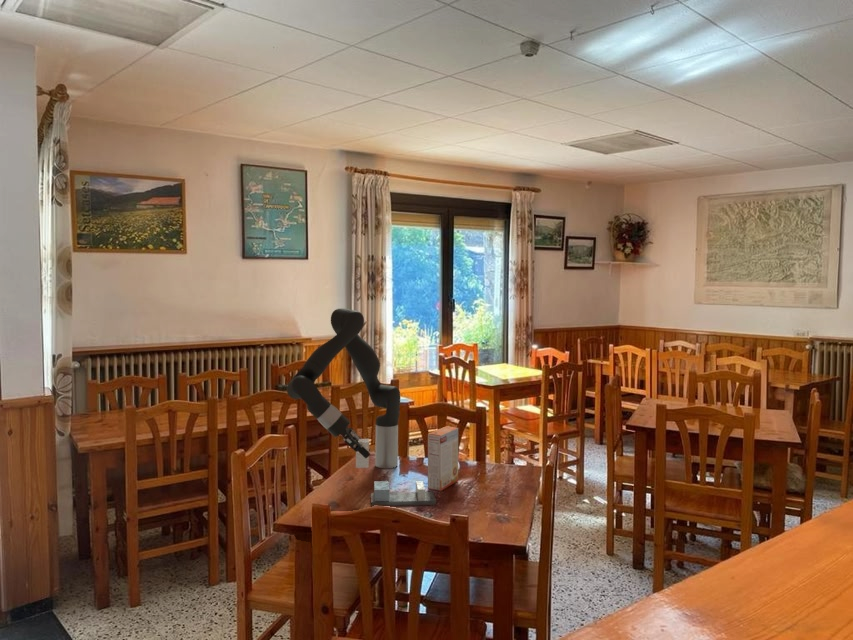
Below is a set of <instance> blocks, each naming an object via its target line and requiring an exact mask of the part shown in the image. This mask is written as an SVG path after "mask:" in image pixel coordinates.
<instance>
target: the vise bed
mask: <svg viewBox="0 0 853 640" xmlns="http://www.w3.org/2000/svg"><path fill="white" fill-rule="evenodd" d="M370 501H371V502H370V503H372V505H371V507H375V506H374V505H388V506H387V507H396V506H397V507H401V506H403V505H404V506H405V507H406V506H408V505H410V506H435V505H437V498H436V496H435V493H434V491H426V487H425V485H424V481H423V480H416V481H415V491H412V492H411V491H408V492H407V491H406V492H404V491H402V492H389V501H375V500H374V492H371V493H370ZM404 506H403V507H404Z"/></svg>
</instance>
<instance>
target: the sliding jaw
mask: <svg viewBox="0 0 853 640" xmlns="http://www.w3.org/2000/svg"><path fill="white" fill-rule="evenodd" d="M389 483H390V482H389V481H388V480H381V481H380V480H376V481H373V493H374V500H375V501H389V493H390V486H389V485H390V484H389Z"/></svg>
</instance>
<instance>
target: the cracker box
mask: <svg viewBox="0 0 853 640" xmlns="http://www.w3.org/2000/svg"><path fill="white" fill-rule="evenodd" d="M458 481H459V427H455V426H454V427H453V426H448V425H446V426H444V427H441V428H439V429H436V430H434V431H431V432H428V433H427V489H429V490H433V491H438V492H442V491H443V490H445V489H447V488H448V487H450V486H451V485H453V484H455V483H457V482H458Z"/></svg>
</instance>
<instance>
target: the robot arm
mask: <svg viewBox="0 0 853 640" xmlns="http://www.w3.org/2000/svg"><path fill="white" fill-rule="evenodd" d="M364 323H365V318H364V315H363V314H362V312H360V311H358V310H355V309H348V308H336V309H334V311H332V313H331V315H330V324H331V328H332V330H333V331H334V333H335V335H334V336H333V337H332V338H331V339H329V340H328V341H326V342H325V343H323V344H321V345H320V346H319V347H317V348H316V349H315V350H314V351H313V352H312V353H311V355H310V356H309V357H308V358H307V360H306V361H305V362H304V364H303V366H302V367H301V368H300V370H299V371H298V372H297V373H296V374H295V375H294V376H293V377H292V379H291V380H290V381H289V382H288V384H287V386H286V393H287V395H288V396H289V398H291V399H293V400H302V401H303V402H304V404H305V405H306V409H307V411H308V412H309V413H310V414H311V415H312V416H313V417H314V418H316V420H317V421H318V423H320V424H321V425H322V426H323V428H324V429H326V430H327V431H328V432H329V433H330V434H331V436H333V437H334V438H337V437H339V436H342V439H343V441H344V444H346V445H347V446H348V447H350V448H351V449H352V450H353V451H354V452H355V453H356V452H359V453H360V454H361V455H362V456H363V457H365V458H367V457H368V456H369V457H370V456H371V455H370V454H371V453H370V451H371V448H369V452H368V451H367V450H366V449H365V448H364V447H363V446H362V445H361V444H360V443H359V439H362V438H361V436H360V435H358V434H357V432H356V431H355V430H354V429H353V428H352V427H349V426H350V424H351V421H350V420H349V419H348V417H346V416H345V415H344V414H343V413H342V412H341V411H340V410H339V409H338V408H337V407H336V406H334V405H333V404H332V403H331V402H330V401H329V400H328V399H327V398H326V397H325V396H323V394H321V392H320V390H319V388H318V387H317V385H316V384H315V382H316V380H317V379H319V378H320V377H321V376H322V374H323V373H324V372H325V370H326V369H327V368H328V367H329V365H330V364H331V362H332V361H333V360H334V358H335V357H336V356H337V355H338V354H339V353H340V352H341V351H342V350H343V349H344V348H345V349H346V351H347V353H348V354H349V356H350V358H351V359H352V362H353V364H354V366H355V368H356V369H357V371H358V373H359V375H360V377H361V378H362V381H363V383H364V385H365V387H366V389H367V393H368V395H369V397H370V400H371V402H372V404H373V405H374V406H375V407H377V408H382V409H385V413H384V414H381V415H378V416H377V417H376V418H375V448H374V449H375V450H374V451H375V457H374V458H375V463H374V465H375V467H376V468H379V469H393V467H394V468H396V466H397V465H398V464H399V457H398V456H399V418H400V409H401V408H400V407H401V390H400V389H399V387H397V386H394V385H387V384H385V385H384V384H382V383H381V381H380V379H379V378H378V377H379V376H378V375H379V372H380V369H381V362H380V359H379V357H378V355H377V353H376V351H375V349H374V348H373V347H372V346H371V345H370V344H369V343H368V342H367V341H366V340H365V339H363V338H362V337H361V336H360V335H359V334H360V332H361V331H362V329H363V327H364V325H365V324H364ZM356 445H358V446H357V447H356ZM397 467H398V466H397Z"/></svg>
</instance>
